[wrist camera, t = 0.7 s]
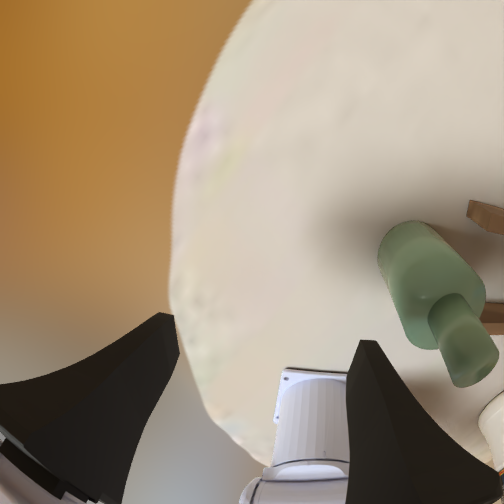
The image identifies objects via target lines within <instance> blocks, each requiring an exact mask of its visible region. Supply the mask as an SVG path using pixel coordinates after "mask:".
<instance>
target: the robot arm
mask: <svg viewBox="0 0 504 504" xmlns="http://www.w3.org/2000/svg"><path fill="white" fill-rule="evenodd" d="M179 354H180V352H179V347H178V340H177V334H176V328H175V321H174V315H170V314H166V313H161V312H159V313H157V314H155V315H154V316H152V317H151V318H149V319H148V320H146V321H145V322H144V323H143V324H141V325H139V326H138V327H137V328H135V329H133V330H132V331H130V332H129V333H127V334H126V335H124V336H123V337H121V338H120V339H118V340H117V341H115V342H113V343H112V344H110V345H108V346H107V347H105V348H103V349H102V350H100V351H98V352H97V353H95V354H93V355H91V356H89V357H87V358H85V359H84V360H81V361H79V362H77V363H75V364H73V365H71V366H68V367H66V368H63V369H60V370H58V371H55V372H52V373H50V374H47V375H44V376H40V377H37V378H33V379H29V380H25V381H20V382H14V383H7V384H0V432H1V433H2V434H3V435H4V436H5V437H6V439H5V440H4V442H3V441H2V440H1V439H0V504H86V502H87V500H90V501H92V502H94V503H97V502H98V501H100V502H102V503H104V504H121V503H122V498H123V494H124V489H125V485H126V481H127V477H128V474H129V470H130V467H131V463H132V460H133V457H134V454H135V451H136V448H137V445H138V443H139V440H140V438H141V435H142V432H143V430H144V427H145V425H146V423H147V421H148V419H149V417H150V415H151V413H152V411H153V409H154V408H155V406H156V404H157V402H158V400H159V398H160V396H161V395H162V393H163V391H164V389H165V387H166V385H167V383H168V382H169V380H170V378H171V376H172V373H173V371H174V368H175V366H176V363H177V360H178V357H179ZM273 422H274V423H275V424H278V426H277V432H276V438H275V444H274V450H273V456H272V462H271V467H265V468H264V470H263V475H262V477H256V478H254V479H253V480H252V481H251V482H250V483H249V484H248V485H247V486H246V487H245V488H244V490H243V492H242V494H241V497H240V501H239V504H493V503H494V502H496V501H497V500H499V499H500V498H501V497H502V495H503V489H502V484H501V479H500V475H499V472H497V471H496V470H494V469H492V468H491V467H489V466H488V465H486V464H484V463H483V462H481V461H480V460H478V459H477V458H475V457H474V456H473V455H471V454H470V453H469V452H467V451H466V450H465V449H463V448H462V447H461V446H460V445H459V444H457V443H456V442H455V441H454V440H453V439H452V438H451V437H450V436H449V435H448V434H447V433H445V432H444V431H443V430H442V429H441V428H440V427H439V426H438V424H437V423H436V422H435V421H434V420H433V419H432V418H431V417H430V416H429V415H428V413H427V412H426V411H425V410H424V409H423V408H422V406H421V405H420V404H419V402H418V401H417V400H416V399H415V397H414V396H413V395H412V393H411V392H410V391H409V389H408V388H407V386H406V385H405V384H404V382H403V381H402V379H401V378H400V376H399V375H398V373H397V372H396V370H395V369H394V367H393V366H392V364H391V363H390V361H389V360H388V358H387V356H386V355H385V353H384V352H383V350H382V349H381V347H380V346H379V344H378V343H377V341H374V340H360V342H359V345H358V347H357V350H356V353H355V356H354V358H353V361H352V364H351V366H350V369H349V371H348V374H338V373H324V372H312V371H302V370H292V369H284V370H283V371H282V374H281V380H280V386H279V392H278V397H277V403H276V408H275V413H274V419H273Z"/></svg>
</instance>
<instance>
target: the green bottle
mask: <svg viewBox="0 0 504 504" xmlns="http://www.w3.org/2000/svg"><path fill="white" fill-rule="evenodd" d="M378 266H379V269H380V271H381V274H382V276H383V278H384V281H385V283H386V285H387V288H388V290H389V292H390V295H391V297H392V300H393V302H394V305H395V307H396V310H397V312H398V315H399V318H400V320H401V323H402V326H403V328H404V331H405V334H406V336H407V338H408V340H409V341H410V342H411V343H412V344H413V345H415V346H416V347H419V348H421V349H427V350H434V349H439V350H440V352H441V354H442V357H443V359H444V362H445V364H446V366H447V369H448V371H449V374H450V377H451V379H452V382H453V384H454V385H455V386H456V387H461V388H462V387H468V386H471V385H473V384H475V383H477V382H479V381H481V380H482V379H483V378H485V377H486V376H487V375H488V374H489V373H490V372H491V371H492V369H493V368H494V367H495V365H496V363H497V361H498V359H499V351H498V349H497V347H496V345H495V344H494V342H493V340H492V339H491V337H490V335H489V334H488V332H487V331H486V329H485V327H484V326H483V324H482V323H481V321H480V320H479V317H480V316H481V313H482V311H483V308H484V305H485V299H486V292H485V286H484V284H483V281H482V280H481V278H480V277H479V276H478V275H477V274H476V273H475V271H474V270H473V269H472V268H471V267H470V266H469V265H468V264H467V263H466V262H465V261H464V259H463V258H462V257H461V256H460V255H459V254H458V253H457V252H456V251H455V250H454V249H453V248H452V247H451V246H450V245H449V244H448V243H447V242H446V241H445V240H444V239H443V238H442V237H441V236H440V235H439V234H438V233H437V232H436V231H435V230H434V229H432V228H431V227H430V226H429V225H427V224H426V223H423V222H420V221H407V222H404V223H401V224H399V225H397V226H395V227H394V228H393V229H391V230H390V231H389V232H388V233H387V234H386V236H385V237H384V239H383V240H382V242H381V244H380V247H379V250H378Z"/></svg>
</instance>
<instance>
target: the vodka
mask: <svg viewBox="0 0 504 504" xmlns="http://www.w3.org/2000/svg"><path fill="white" fill-rule="evenodd" d="M478 425H479V428H480V431H481V433H482V434H483V435H484V437H485V439H486V441H487V443H488V445H489V448H490V451H491V454H492V458H493V462H494V467H495V470H496V471H497V472H499V475H500V479H501V484H502V489H503V495H502V497H501V501H502V504H504V391H503V392H502V393H500V394H499V395H498V396H496V397H495V398H494V399H493V400H492V401H491V402H490V403H489V404H488V405H487V406H486V407H485V409H484V410H483V412H482V413H481V415H480V417H479V421H478Z"/></svg>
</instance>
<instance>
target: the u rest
mask: <svg viewBox="0 0 504 504" xmlns="http://www.w3.org/2000/svg"><path fill="white" fill-rule="evenodd" d="M467 217H468V218H470V219H471V220H473V221H474V222H475V223H477V224H478V225H479V226H481V227H482V228H484V229H485V230H486V231H488V232H493V233H498V234H502V235H504V209H501V208H498V207H494V206H491V205H487V204H483V203H480V202H476V201H472V200H470V202H469V207H468V211H467ZM479 320H480V321H481V323H482V324H483V326H484V327H485V329H486V331H487V332H488V334H489V335H504V304H500V303H485V305H484V308H483V311H482V313H481V316H480V317H479Z"/></svg>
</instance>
